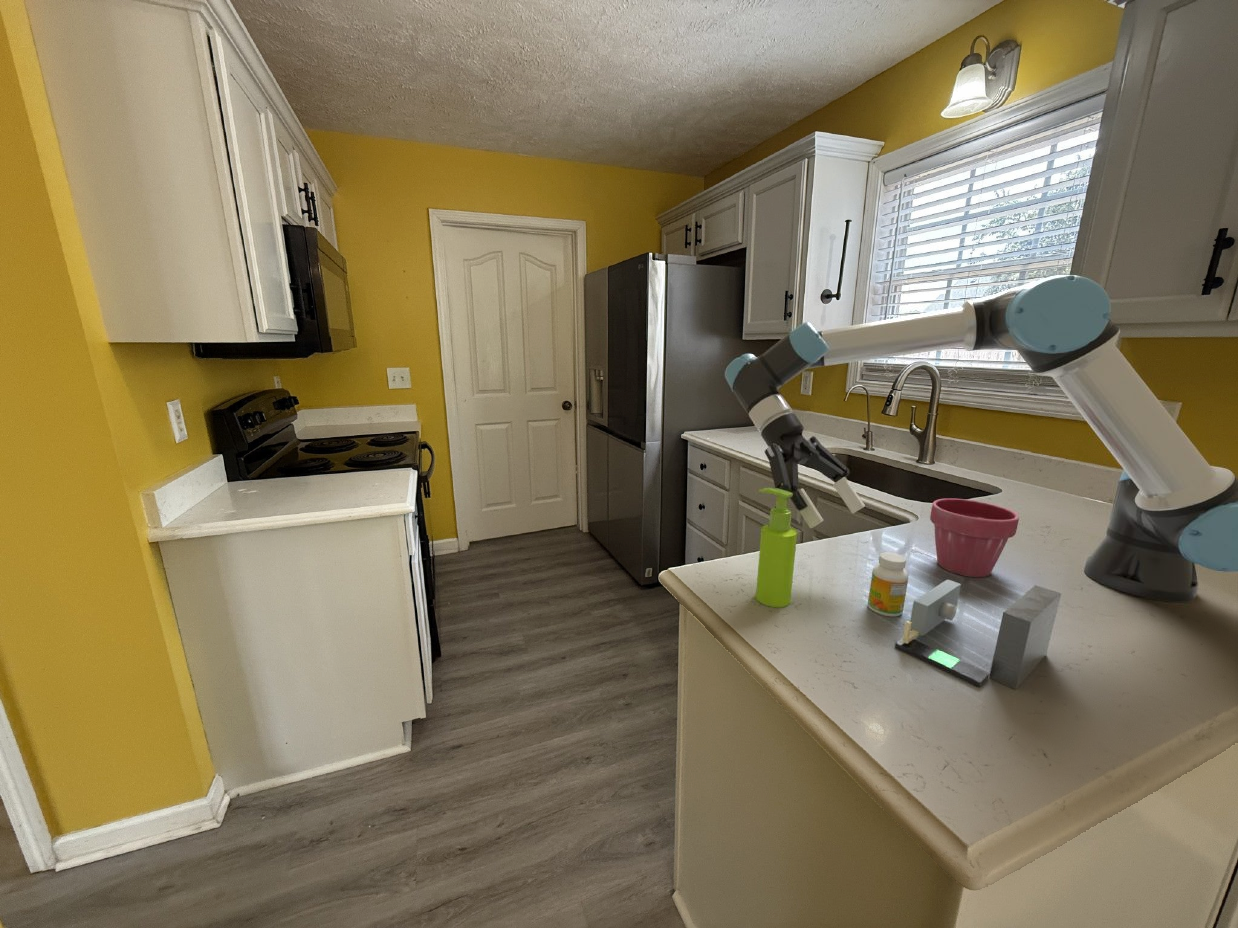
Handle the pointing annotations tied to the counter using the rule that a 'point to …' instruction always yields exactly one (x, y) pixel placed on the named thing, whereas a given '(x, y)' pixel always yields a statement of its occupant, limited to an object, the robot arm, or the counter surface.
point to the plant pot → (971, 535)
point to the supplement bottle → (888, 585)
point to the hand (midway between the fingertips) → (838, 516)
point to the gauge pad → (932, 609)
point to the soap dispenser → (776, 554)
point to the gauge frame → (1004, 642)
